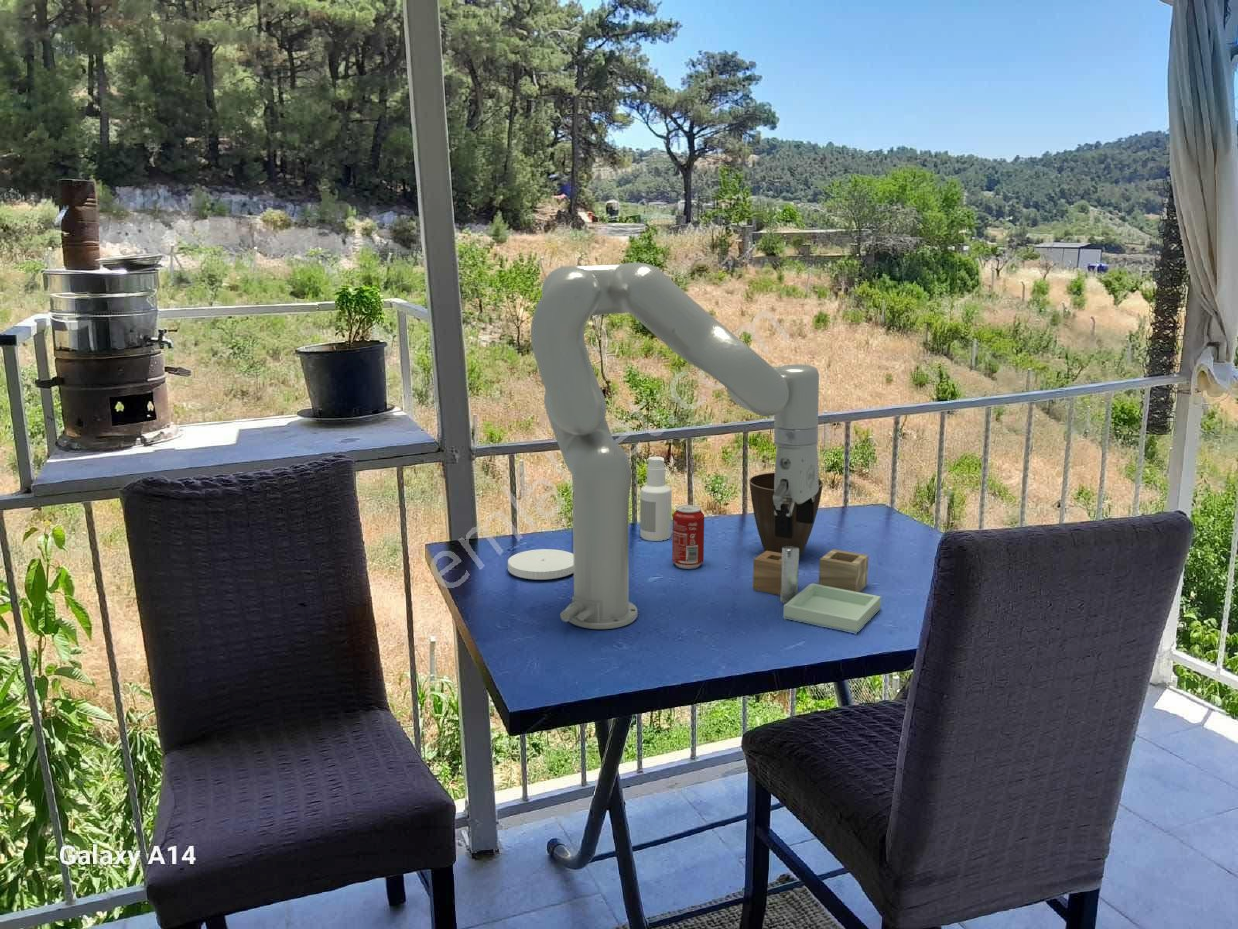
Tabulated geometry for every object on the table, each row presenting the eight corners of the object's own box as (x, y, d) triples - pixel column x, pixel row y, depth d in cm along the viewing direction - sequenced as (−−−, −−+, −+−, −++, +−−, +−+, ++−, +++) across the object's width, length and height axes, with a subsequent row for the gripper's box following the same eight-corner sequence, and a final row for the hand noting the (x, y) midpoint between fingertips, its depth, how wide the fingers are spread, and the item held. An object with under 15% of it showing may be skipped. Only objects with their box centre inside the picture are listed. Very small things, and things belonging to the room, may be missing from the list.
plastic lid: (531, 589, 180) (530, 577, 179) (495, 569, 191) (495, 557, 190) (592, 574, 188) (592, 562, 187) (554, 556, 199) (554, 544, 198)
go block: (854, 596, 175) (856, 565, 173) (818, 589, 178) (819, 559, 177) (866, 585, 180) (868, 555, 179) (831, 578, 184) (832, 549, 183)
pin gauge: (793, 605, 170) (795, 552, 168) (777, 602, 172) (779, 549, 170) (799, 600, 173) (801, 547, 171) (784, 597, 174) (786, 545, 172)
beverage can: (703, 560, 195) (704, 504, 192) (703, 570, 189) (704, 512, 186) (672, 559, 195) (673, 503, 193) (671, 569, 189) (672, 512, 187)
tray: (856, 634, 157) (857, 620, 157) (783, 619, 164) (783, 605, 164) (880, 609, 168) (881, 596, 168) (810, 596, 175) (811, 583, 174)
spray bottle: (646, 531, 215) (646, 453, 211) (675, 534, 212) (676, 456, 208) (635, 539, 209) (636, 460, 205) (665, 543, 206) (666, 462, 202)
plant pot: (820, 569, 190) (824, 491, 186) (745, 564, 192) (747, 488, 188) (818, 546, 204) (822, 473, 200) (748, 542, 206) (750, 471, 203)
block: (782, 595, 175) (783, 564, 174) (752, 589, 178) (753, 559, 177) (794, 585, 180) (796, 555, 179) (765, 580, 183) (766, 550, 182)
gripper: (797, 447, 157) (796, 546, 160) (833, 428, 171) (831, 520, 175) (755, 443, 160) (755, 540, 164) (794, 425, 175) (793, 514, 179)
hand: (794, 529), depth 170 cm, fingers open, 9 cm apart
